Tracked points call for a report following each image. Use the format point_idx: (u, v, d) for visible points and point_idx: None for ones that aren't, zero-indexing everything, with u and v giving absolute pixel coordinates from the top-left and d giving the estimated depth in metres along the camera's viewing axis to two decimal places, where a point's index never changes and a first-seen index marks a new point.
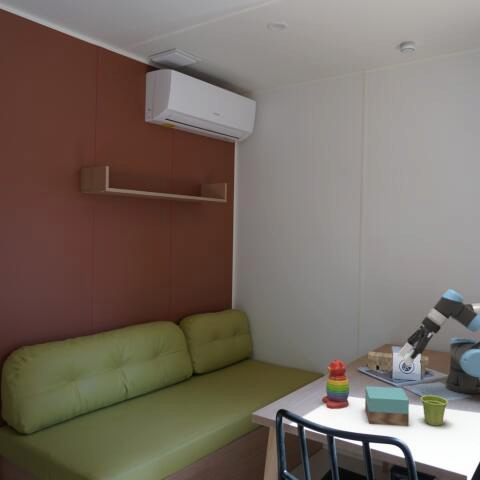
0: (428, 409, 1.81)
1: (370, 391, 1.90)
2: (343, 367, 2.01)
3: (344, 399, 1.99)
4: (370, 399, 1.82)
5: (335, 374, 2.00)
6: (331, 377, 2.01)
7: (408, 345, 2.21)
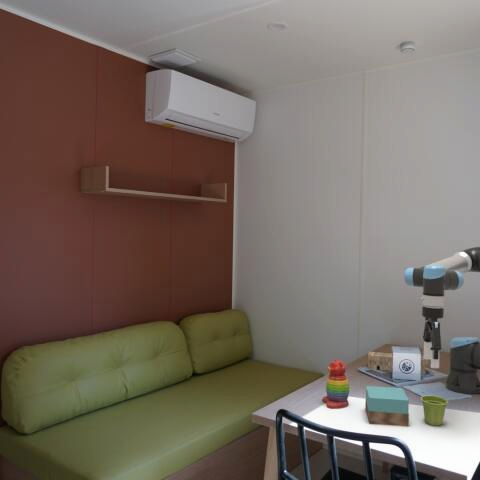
0: (428, 409, 1.81)
1: (371, 390, 1.91)
2: (343, 367, 2.01)
3: (344, 399, 1.99)
4: (370, 399, 1.83)
5: (335, 374, 2.00)
6: (331, 377, 2.01)
7: (427, 344, 1.92)
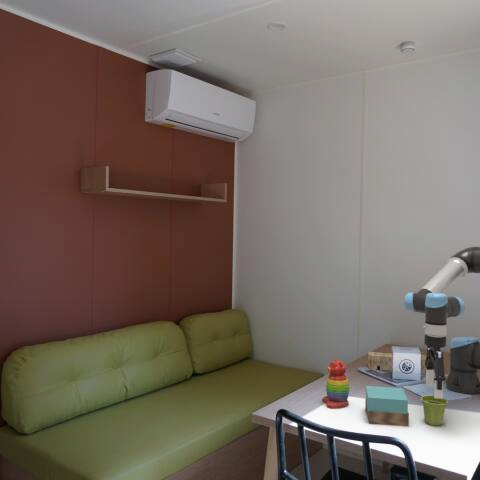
0: (428, 409, 1.81)
1: (370, 390, 1.91)
2: (343, 367, 2.01)
3: (344, 399, 1.99)
4: (369, 399, 1.83)
5: (335, 374, 2.00)
6: (331, 377, 2.01)
7: (429, 371, 1.90)
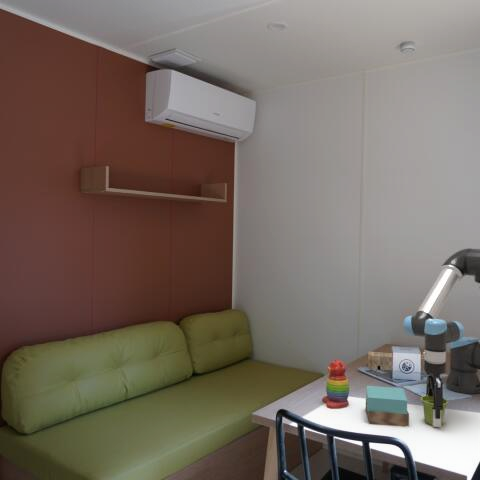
0: (428, 409, 1.81)
1: (370, 390, 1.91)
2: (343, 367, 2.01)
3: (344, 399, 1.99)
4: (368, 398, 1.83)
5: (335, 374, 2.00)
6: (331, 377, 2.01)
7: None
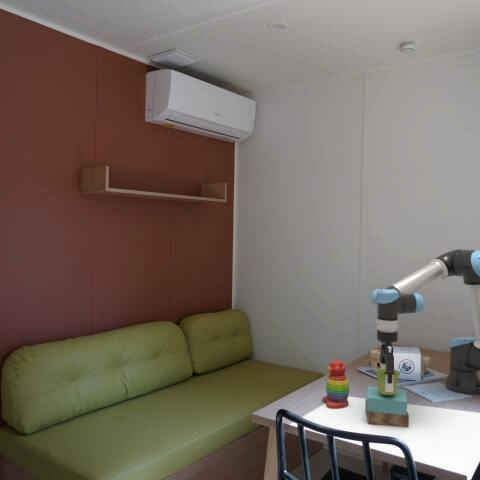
0: (381, 377, 1.84)
1: (371, 391, 1.90)
2: (343, 367, 2.01)
3: (344, 399, 1.99)
4: (368, 399, 1.83)
5: (335, 374, 2.00)
6: (331, 377, 2.01)
7: (383, 366, 1.95)
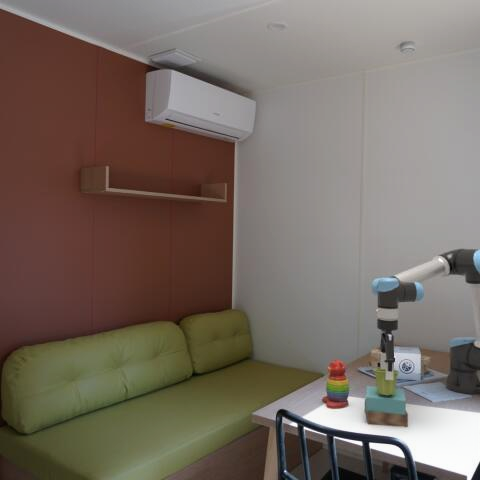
0: (380, 378, 1.84)
1: (370, 390, 1.91)
2: (343, 367, 2.01)
3: (344, 399, 1.99)
4: (367, 398, 1.83)
5: (335, 374, 2.00)
6: (331, 377, 2.01)
7: (383, 354, 1.94)
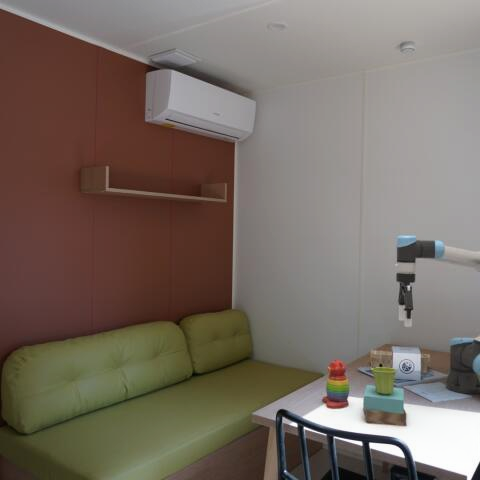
0: (379, 377, 1.85)
1: (369, 389, 1.92)
2: (343, 367, 2.01)
3: (344, 399, 1.99)
4: (365, 397, 1.84)
5: (335, 374, 2.00)
6: (331, 377, 2.01)
7: (401, 307, 2.12)
